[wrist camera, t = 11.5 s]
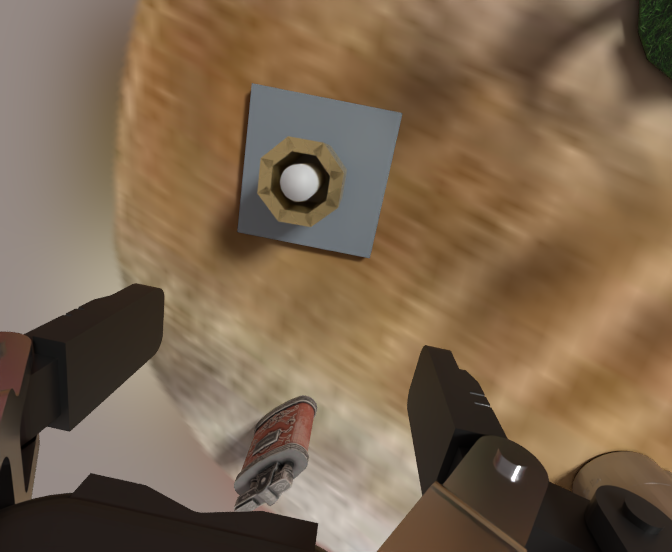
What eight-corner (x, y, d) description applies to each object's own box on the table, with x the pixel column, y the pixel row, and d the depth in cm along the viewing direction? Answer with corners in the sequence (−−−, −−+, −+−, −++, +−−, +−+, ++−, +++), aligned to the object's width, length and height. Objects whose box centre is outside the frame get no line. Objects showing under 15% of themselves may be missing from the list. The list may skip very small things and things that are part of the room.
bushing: (350, 149, 27) (348, 147, 21) (339, 216, 29) (333, 231, 23) (283, 137, 27) (263, 131, 21) (275, 205, 29) (254, 217, 23)
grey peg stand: (400, 114, 29) (420, 95, 20) (369, 254, 33) (373, 292, 24) (256, 86, 29) (208, 53, 20) (241, 229, 33) (195, 257, 24)
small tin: (303, 389, 38) (285, 466, 28) (324, 410, 39) (312, 492, 29) (249, 425, 40) (215, 508, 30) (269, 444, 41) (242, 532, 31)
